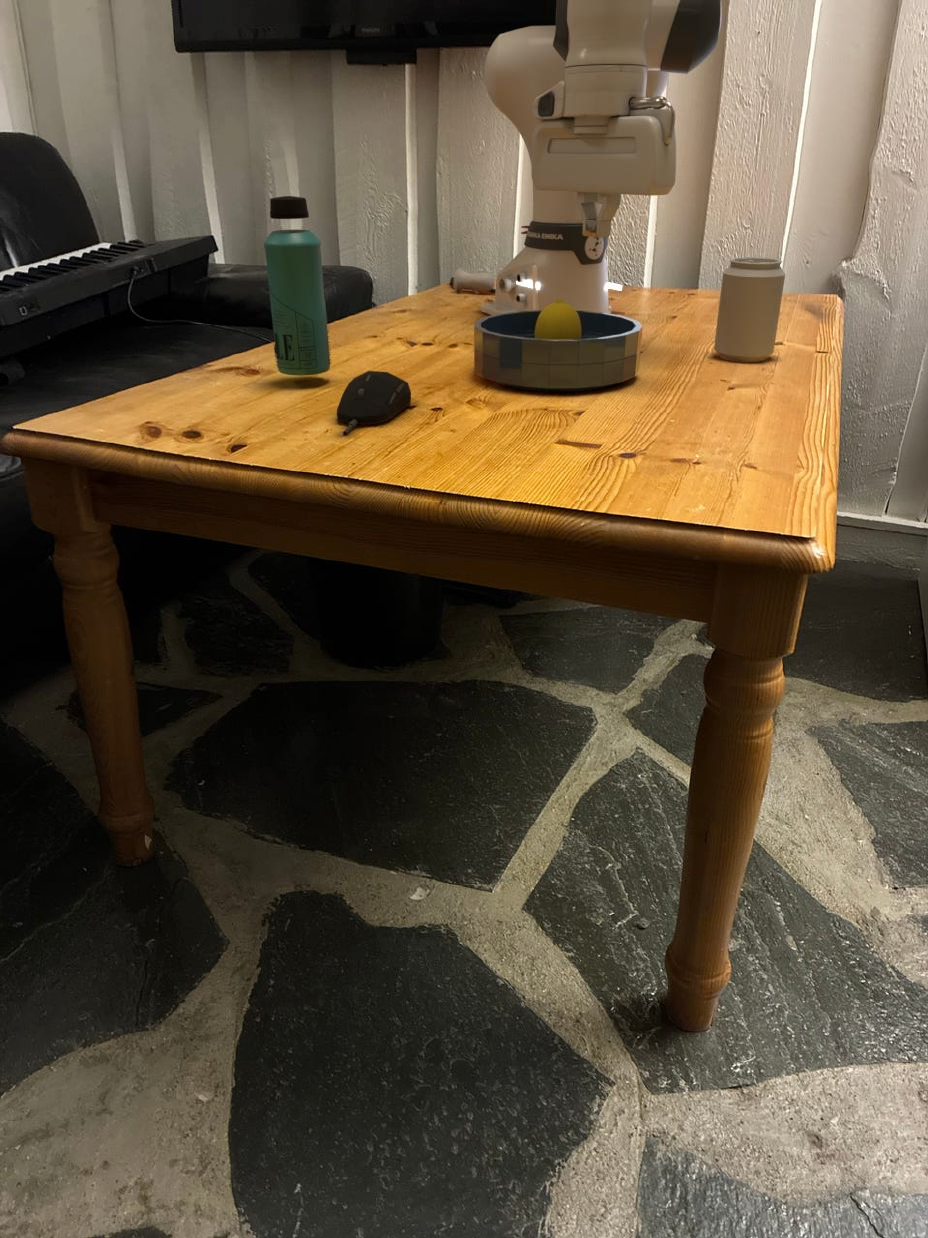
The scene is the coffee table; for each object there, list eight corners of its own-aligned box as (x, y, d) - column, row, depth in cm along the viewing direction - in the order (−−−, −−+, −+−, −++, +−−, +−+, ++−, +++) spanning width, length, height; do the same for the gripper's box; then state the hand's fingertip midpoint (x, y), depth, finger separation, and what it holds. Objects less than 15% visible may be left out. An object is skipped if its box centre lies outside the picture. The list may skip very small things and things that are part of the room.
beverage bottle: (342, 377, 109) (329, 194, 99) (316, 391, 103) (300, 198, 94) (294, 374, 111) (277, 193, 101) (266, 386, 105) (245, 197, 96)
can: (775, 364, 114) (791, 262, 108) (714, 362, 115) (726, 261, 110) (770, 352, 120) (784, 255, 115) (712, 350, 122) (723, 254, 116)
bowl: (442, 371, 112) (441, 321, 109) (563, 351, 122) (565, 304, 119) (545, 404, 97) (547, 347, 95) (672, 378, 107) (677, 326, 105)
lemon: (530, 364, 111) (532, 295, 108) (574, 362, 112) (578, 294, 108) (537, 374, 106) (539, 303, 103) (583, 373, 107) (587, 302, 103)
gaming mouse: (314, 433, 89) (311, 392, 87) (365, 395, 101) (362, 359, 99) (375, 437, 87) (373, 396, 85) (419, 398, 100) (417, 362, 98)
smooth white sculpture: (498, 299, 168) (486, 293, 164) (460, 295, 171) (447, 289, 167) (502, 274, 167) (490, 268, 163) (464, 271, 170) (451, 265, 166)
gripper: (697, 95, 93) (682, 241, 99) (565, 103, 107) (559, 229, 114) (653, 94, 89) (641, 244, 96) (523, 101, 104) (520, 232, 111)
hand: (596, 236), depth 105 cm, fingers closed
